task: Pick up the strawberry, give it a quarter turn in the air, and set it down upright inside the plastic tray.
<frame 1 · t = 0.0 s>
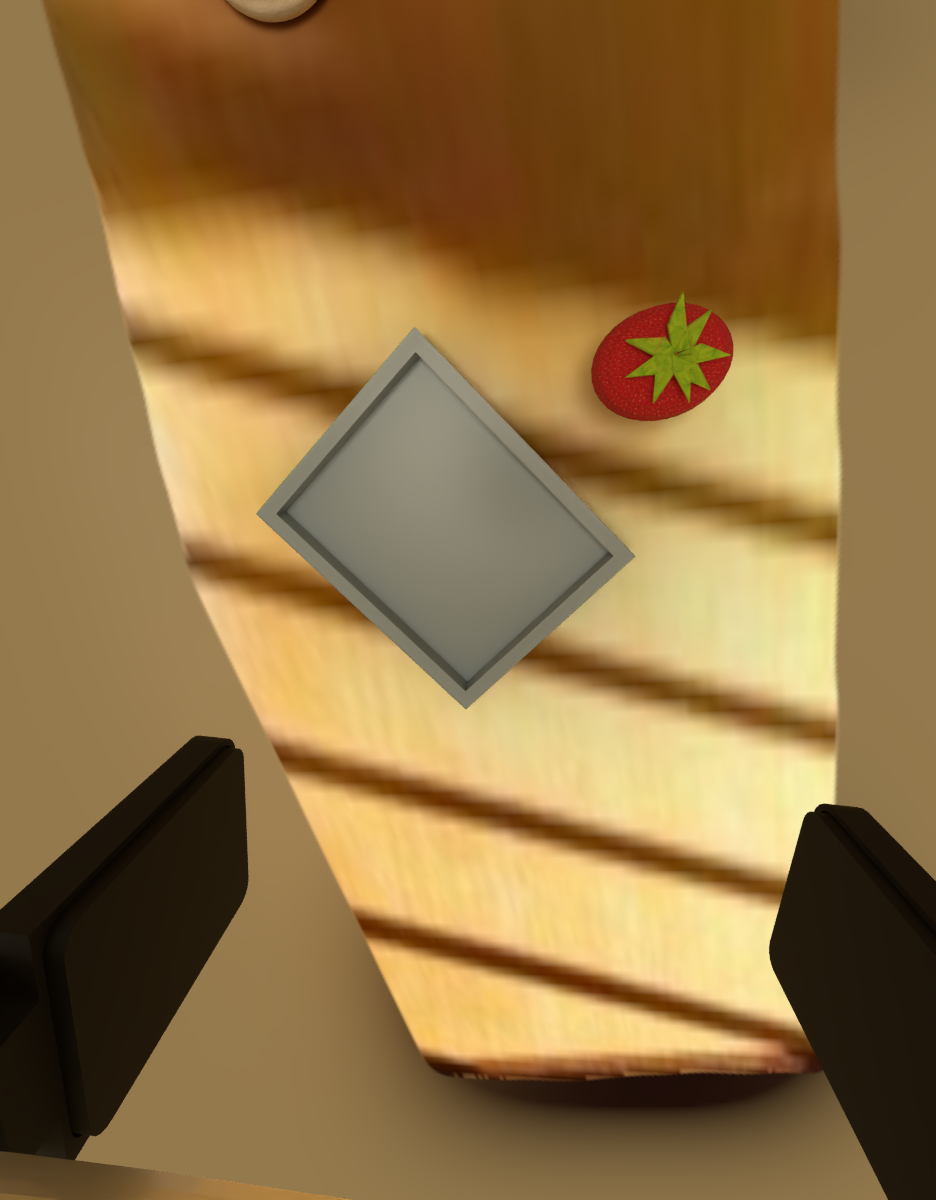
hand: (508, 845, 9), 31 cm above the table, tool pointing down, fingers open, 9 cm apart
tray: (446, 529, 39), on the table
strawberry: (638, 376, 36), on the table
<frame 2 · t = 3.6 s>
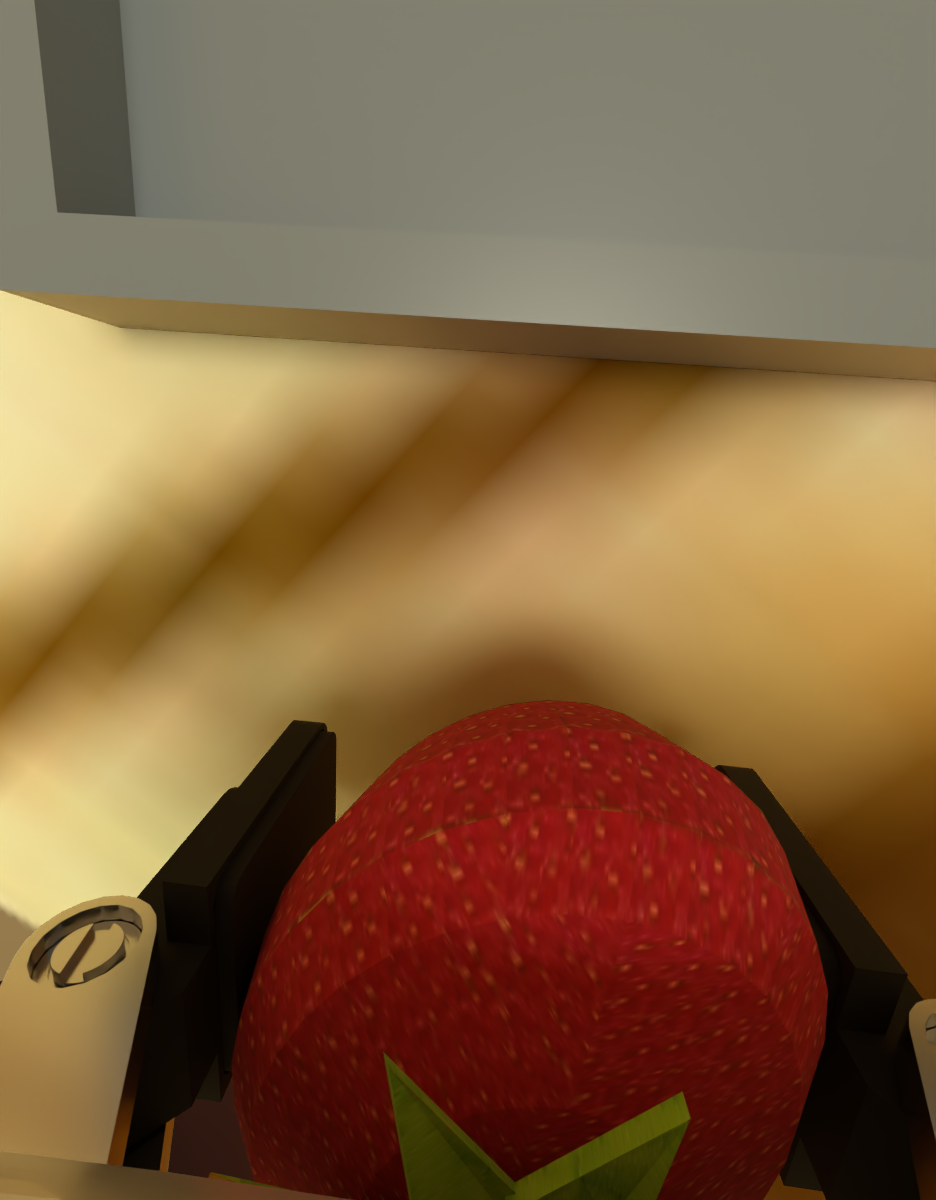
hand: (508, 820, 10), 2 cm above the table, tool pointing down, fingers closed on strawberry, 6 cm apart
strawberry: (509, 750, 12), on the table, touching gripper
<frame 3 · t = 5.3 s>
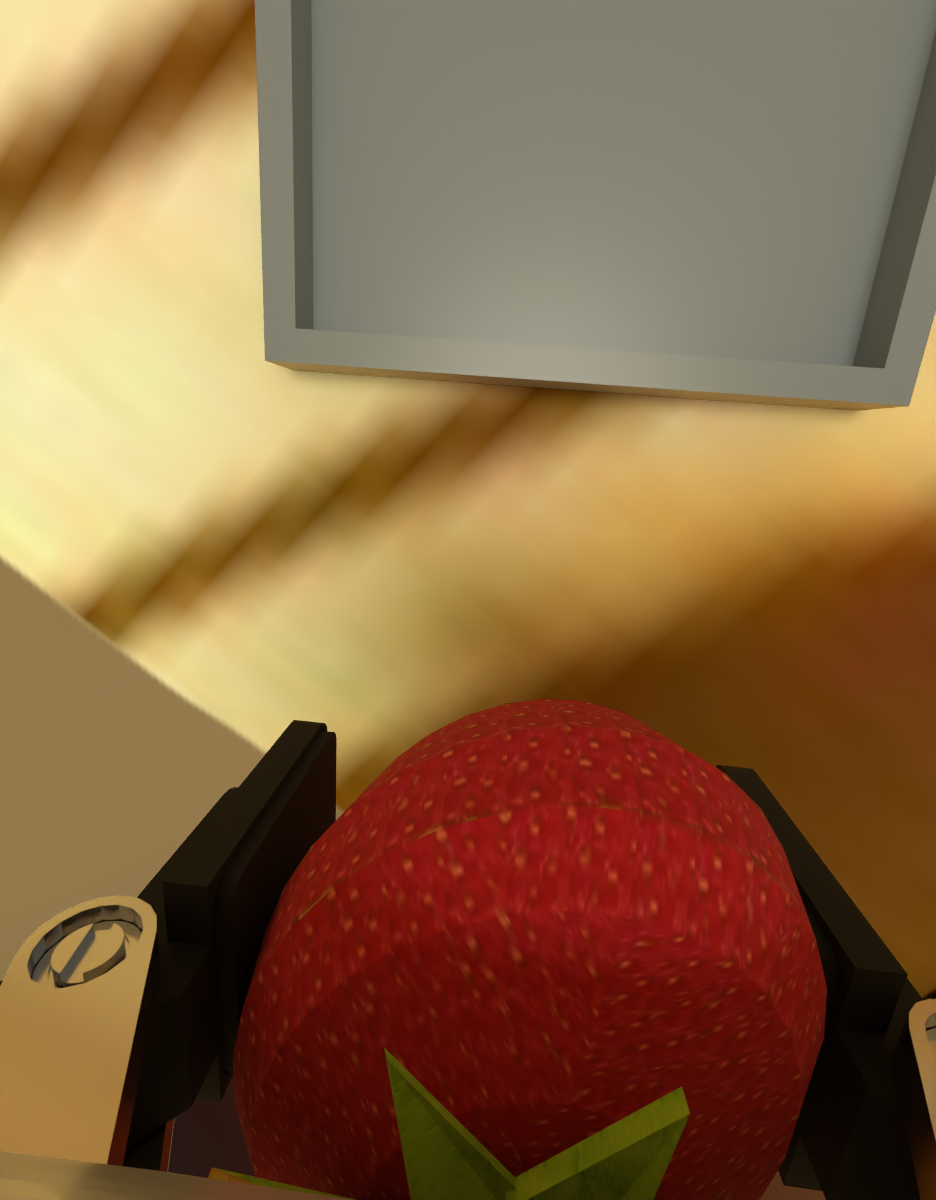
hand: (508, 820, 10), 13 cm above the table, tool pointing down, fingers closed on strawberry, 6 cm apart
tray: (601, 119, 17), on the table
strawberry: (509, 749, 12), point 10 cm above the table, touching gripper
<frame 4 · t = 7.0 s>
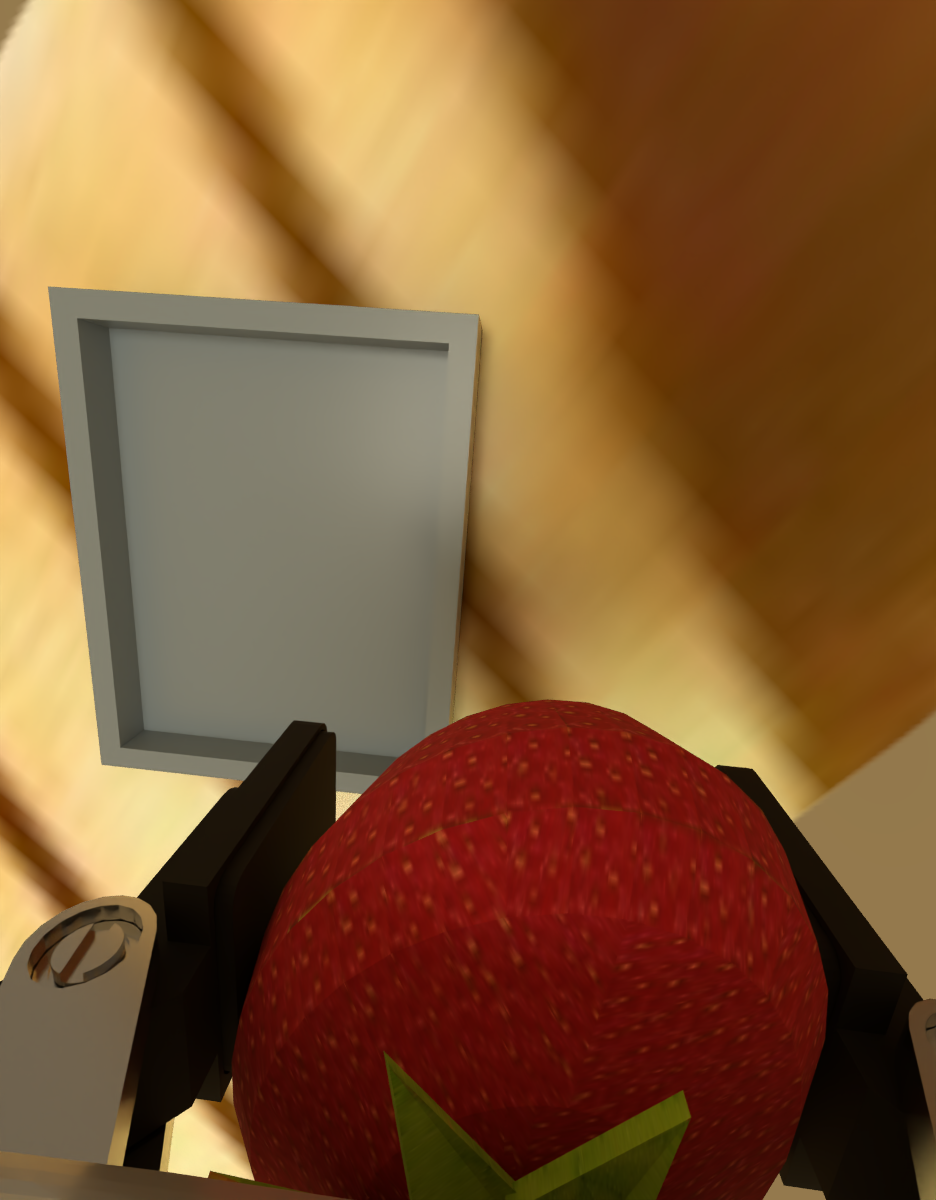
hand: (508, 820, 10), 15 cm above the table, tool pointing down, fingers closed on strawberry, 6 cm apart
tray: (288, 558, 25), on the table
strawberry: (509, 749, 12), point 13 cm above the table, touching gripper
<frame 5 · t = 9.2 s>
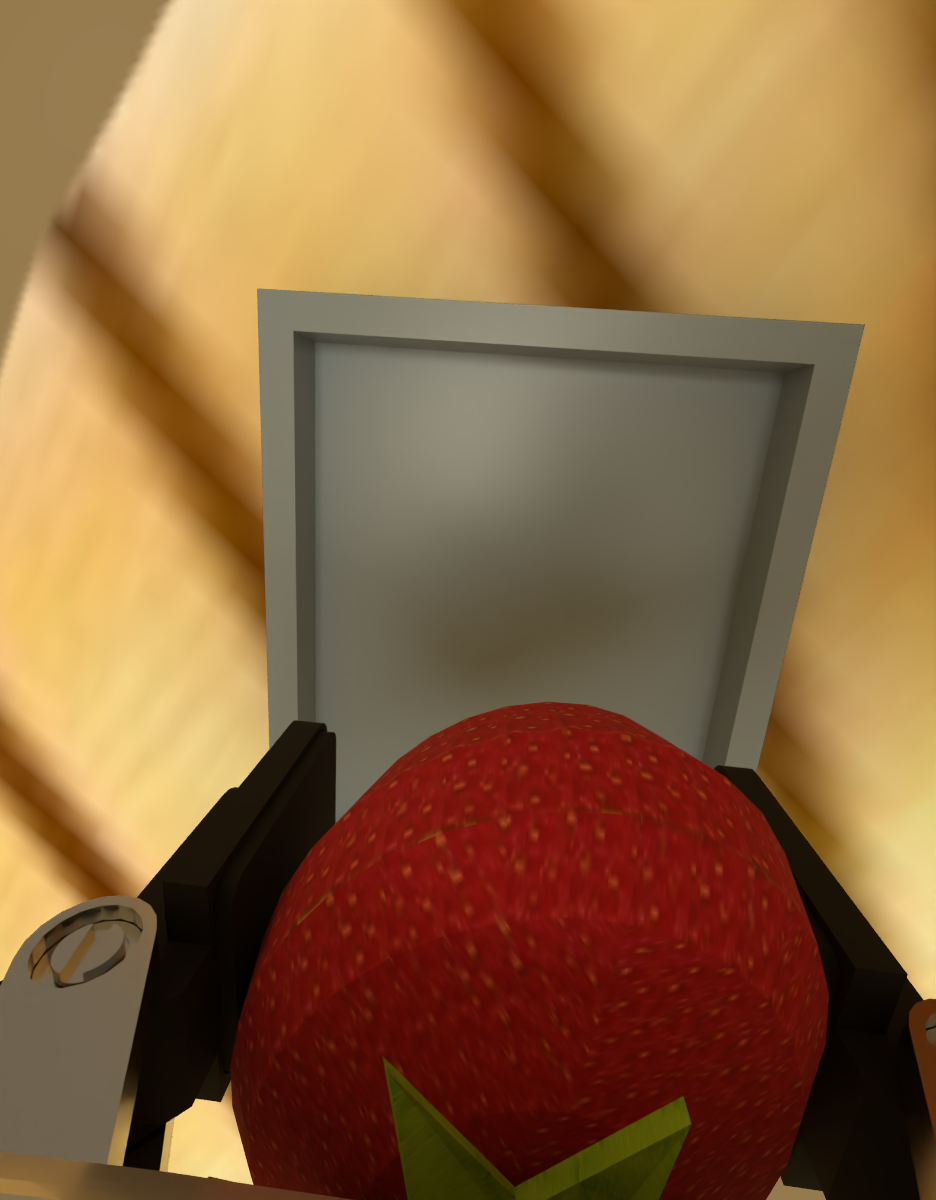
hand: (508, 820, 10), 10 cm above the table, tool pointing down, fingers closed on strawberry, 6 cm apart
tray: (514, 632, 20), on the table
strawberry: (509, 751, 12), point 8 cm above the table, touching gripper
when the fingers open (4 cm above the table, at t = 10.7 s): strawberry drops 1 cm, resting on tray.
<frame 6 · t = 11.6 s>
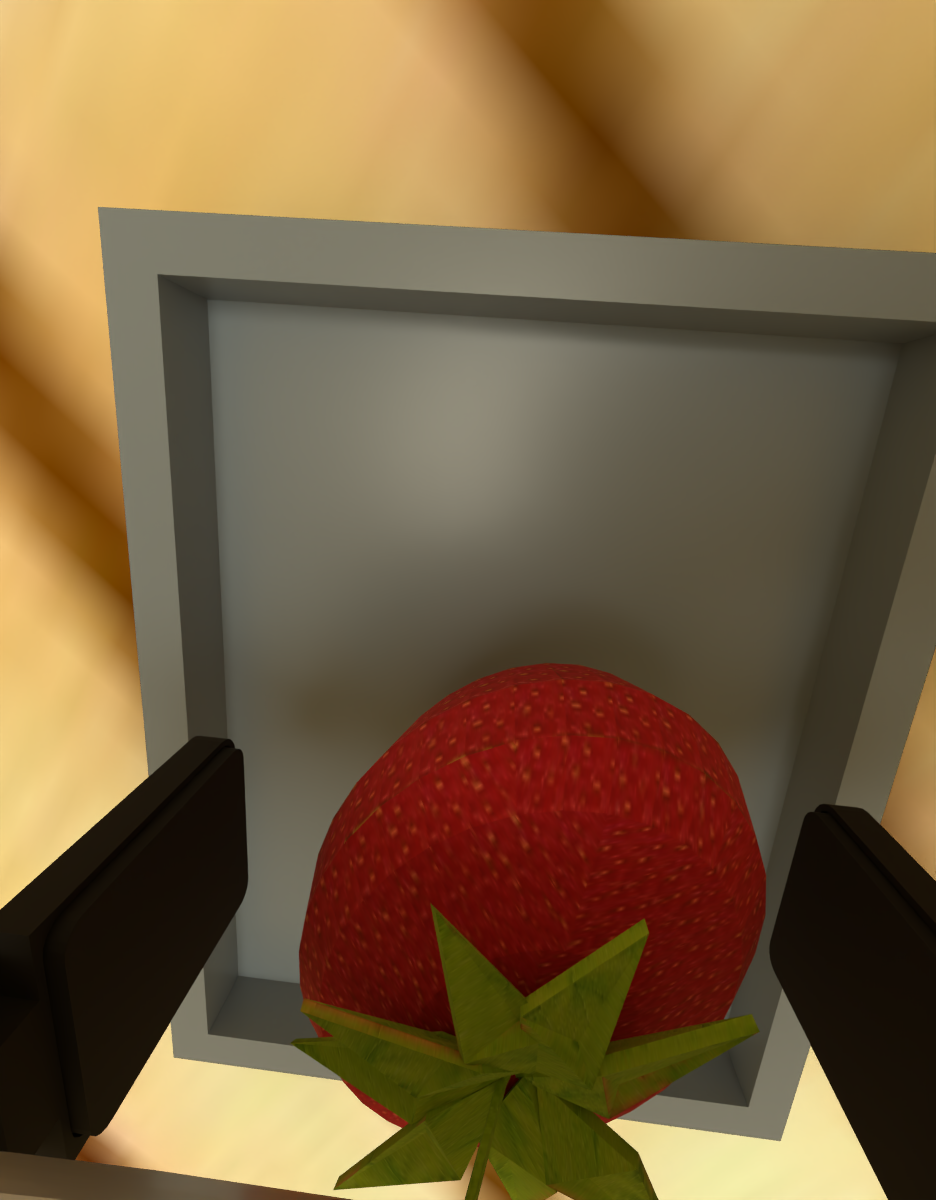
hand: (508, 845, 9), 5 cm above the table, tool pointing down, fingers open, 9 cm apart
tray: (503, 708, 14), on the table
strawberry: (514, 716, 14), point 1 cm above the table, touching tray
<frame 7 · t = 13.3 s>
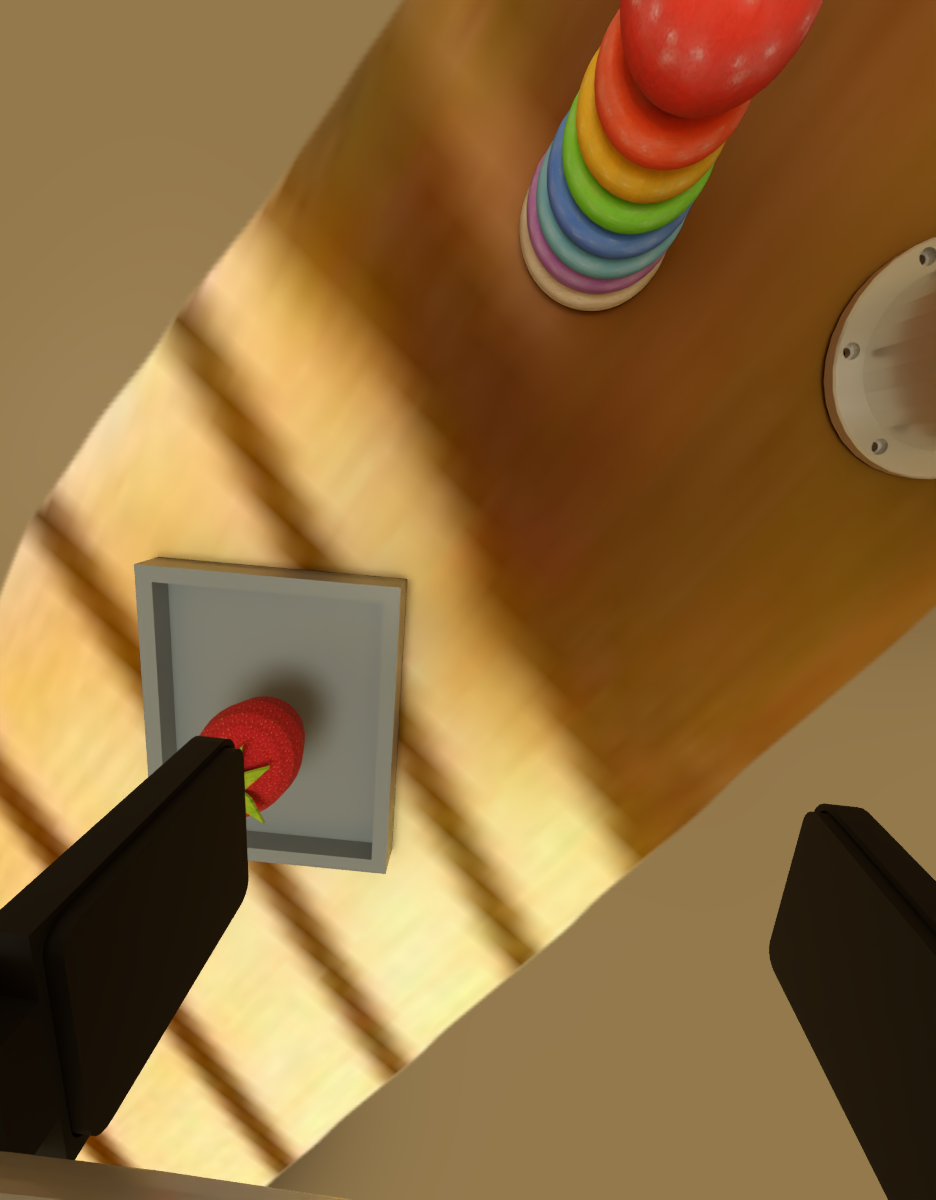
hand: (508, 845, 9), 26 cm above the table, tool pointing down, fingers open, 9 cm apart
stacking toy: (591, 236, 30), on the table
tray: (282, 711, 38), on the table
strawberry: (282, 714, 37), point 1 cm above the table, touching tray
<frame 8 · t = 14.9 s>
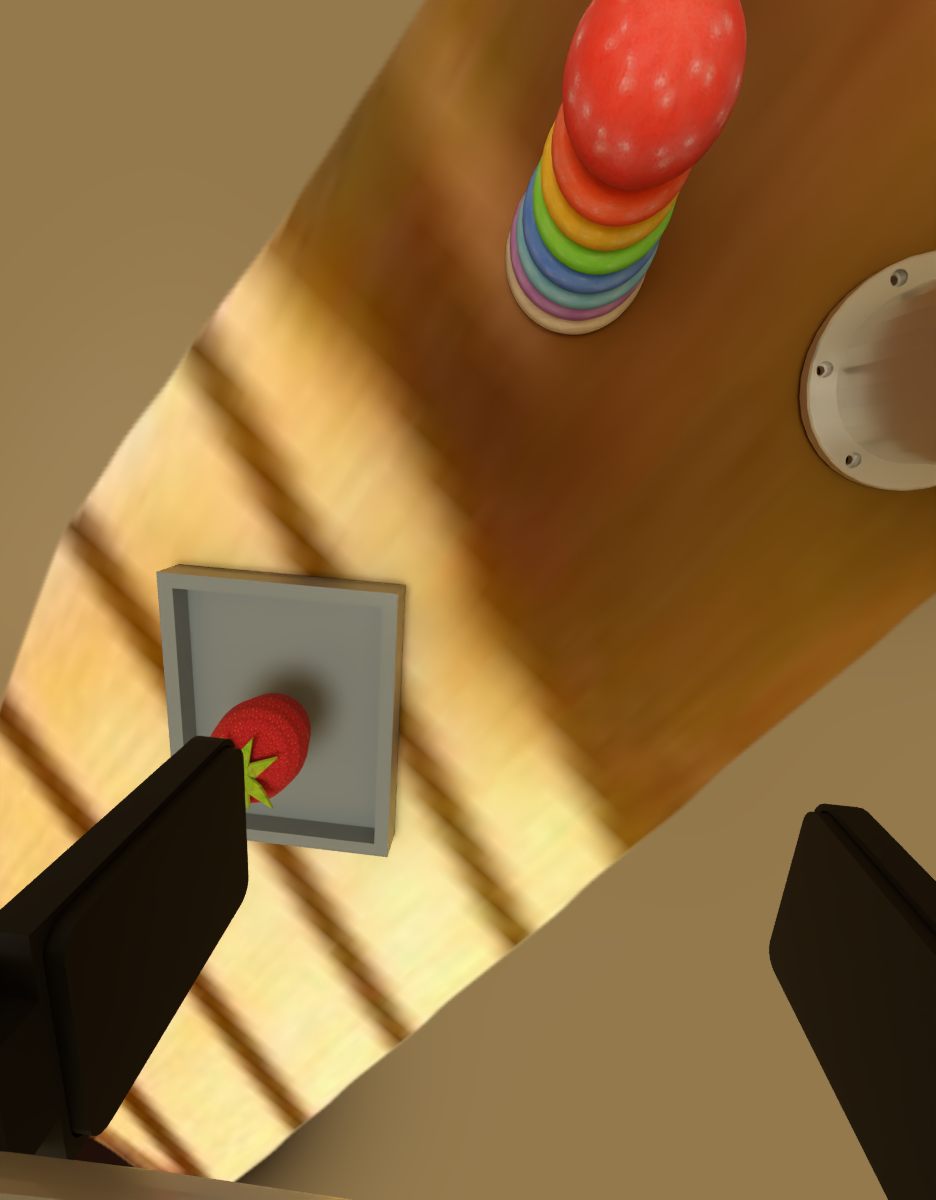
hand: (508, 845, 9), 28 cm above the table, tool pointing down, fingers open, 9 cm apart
stacking toy: (574, 263, 32), on the table
tray: (292, 706, 41), on the table
strawberry: (292, 708, 40), point 1 cm above the table, touching tray
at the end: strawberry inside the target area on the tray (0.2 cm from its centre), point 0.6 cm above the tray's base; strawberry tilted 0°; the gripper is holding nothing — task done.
